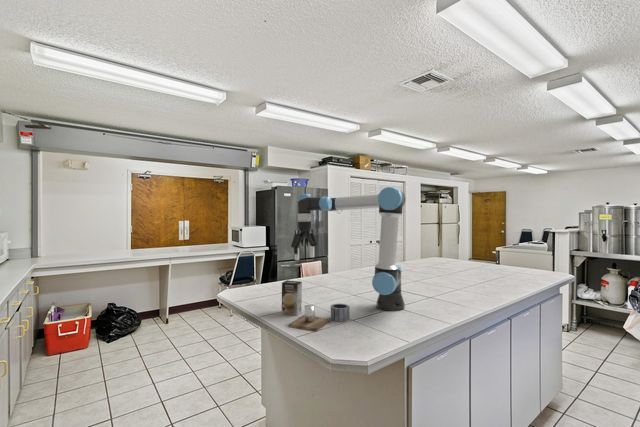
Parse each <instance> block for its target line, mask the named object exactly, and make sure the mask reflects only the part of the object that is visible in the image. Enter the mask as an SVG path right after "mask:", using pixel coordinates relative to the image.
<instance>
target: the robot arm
mask: <svg viewBox="0 0 640 427" xmlns="http://www.w3.org/2000/svg"><path fill="white" fill-rule="evenodd" d="M296 203H297V228H298V229H295V230H294V235H293V238H292V242H291V248H293V253H294V254H293V255H294V260H295V261H299V260H300V247H299V246H300V244H301V242H302V241H303V239H307V240H306V241H307V242H308V243H309V245H310V246H309V258H315V247H316V246H317V245H318V243H317V239H316V236H315V233H314V229H313V228H312V222H311V221H312V214H311V213H312V211H313V212H314V211H322V212H323V211H324V212H332V211H333V212H334V211H348V210H363V209H365V210H366V209H378V213H379V215H380V218H381V219H380V234H379V235H380V236H379V248H378V263H377V264H375V265H374V275H373V276H372V281H371V282H372V283H371V284H372V287H373V290H375V292H376V293H378V296H377V299H376V308H378V309H380V310H382V311H383V310H385V311H391V312H393V311H394V312H395V311H402V310H404V309H405V307H406V306H405V300H404V297H403V294H402V266H400V265H397V263H396V262H397V249H398V248H397V247H398V234H399V233H398V232H399V220H400V219H399V218H400V217H401V216H402V215H403V208H404V205H405V204H406V196H405V193H404V192H403V191H402V190H401V189H399V188H398V187H396V186H386V187H384V188H383V189H381V191H379V193H377V194H365V195H354V196H352V195H351V196H343V197H342V196H341V197H330V196H316V197H312V195H311V194H310V193H300V194H298V195H297V202H296ZM311 228H312V229H311Z"/></svg>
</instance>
